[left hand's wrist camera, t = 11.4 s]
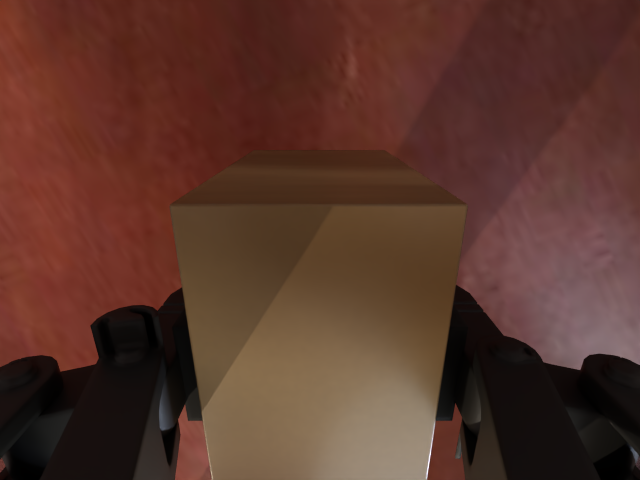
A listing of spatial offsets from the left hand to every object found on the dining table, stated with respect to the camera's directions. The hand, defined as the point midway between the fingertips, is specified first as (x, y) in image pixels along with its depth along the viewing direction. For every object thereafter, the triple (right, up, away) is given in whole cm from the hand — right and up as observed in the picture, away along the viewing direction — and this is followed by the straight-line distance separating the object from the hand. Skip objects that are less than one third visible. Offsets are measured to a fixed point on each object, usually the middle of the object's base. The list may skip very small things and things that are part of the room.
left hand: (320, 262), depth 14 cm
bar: (0, -6, +3) cm, 7 cm away
